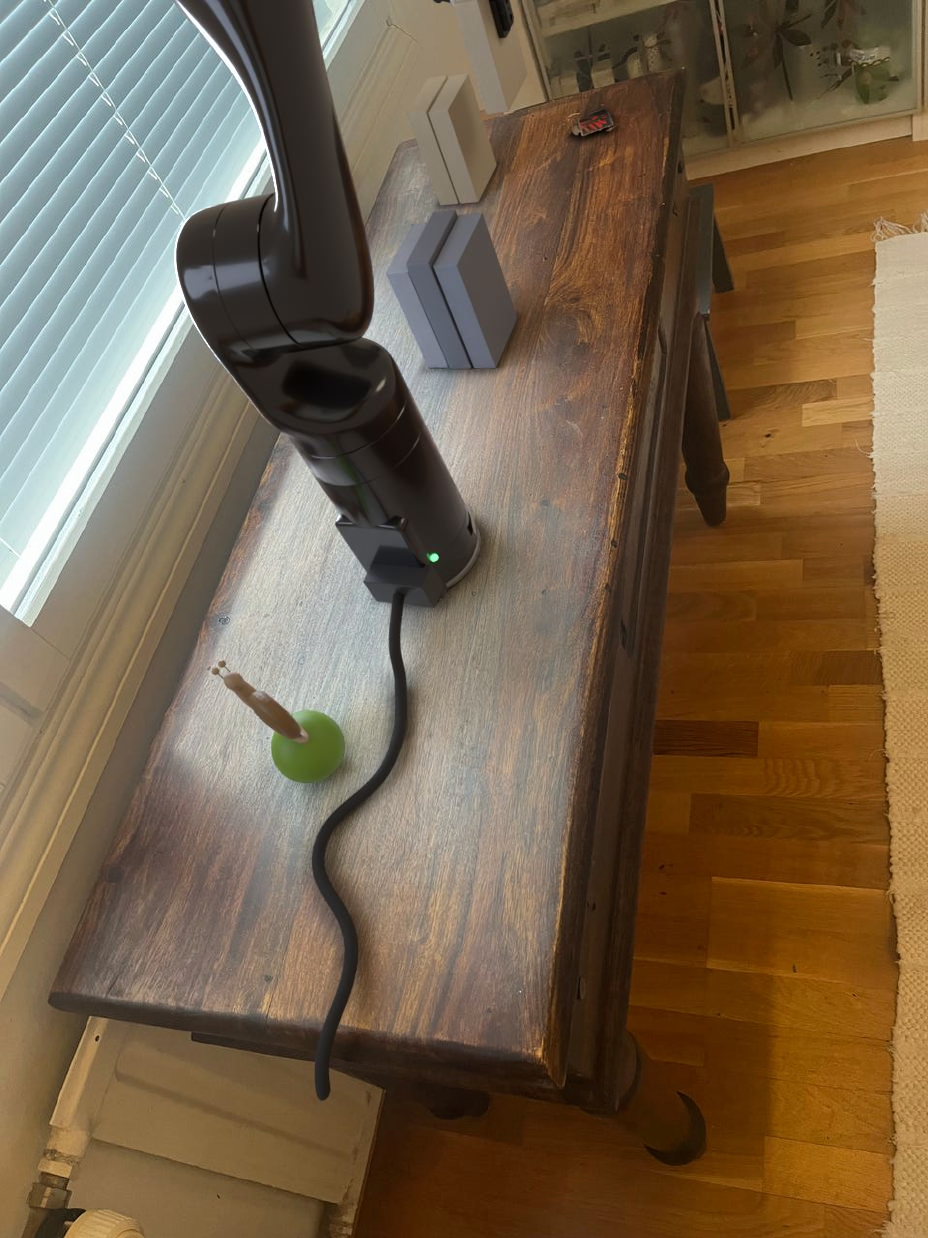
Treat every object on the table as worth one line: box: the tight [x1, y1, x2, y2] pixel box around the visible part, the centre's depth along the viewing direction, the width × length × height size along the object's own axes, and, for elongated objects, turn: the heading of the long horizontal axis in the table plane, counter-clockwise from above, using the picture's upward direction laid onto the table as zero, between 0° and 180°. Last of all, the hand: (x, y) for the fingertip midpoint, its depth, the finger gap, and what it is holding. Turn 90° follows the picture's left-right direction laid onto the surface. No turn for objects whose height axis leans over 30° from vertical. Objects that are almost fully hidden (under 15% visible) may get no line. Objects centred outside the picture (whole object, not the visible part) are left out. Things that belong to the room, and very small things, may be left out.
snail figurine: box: [211, 659, 346, 785], centre depth 67 cm, size 5×6×12 cm
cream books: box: [406, 72, 497, 207], centre depth 106 cm, size 7×5×11 cm
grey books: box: [385, 209, 518, 370], centre depth 89 cm, size 7×8×12 cm
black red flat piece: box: [570, 107, 618, 137], centre depth 108 cm, size 5×5×1 cm
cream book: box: [452, 0, 529, 116], centre depth 95 cm, size 7×3×11 cm, turn 161°
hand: (491, 35), depth 94 cm, fingers closed on cream book, 2 cm apart
